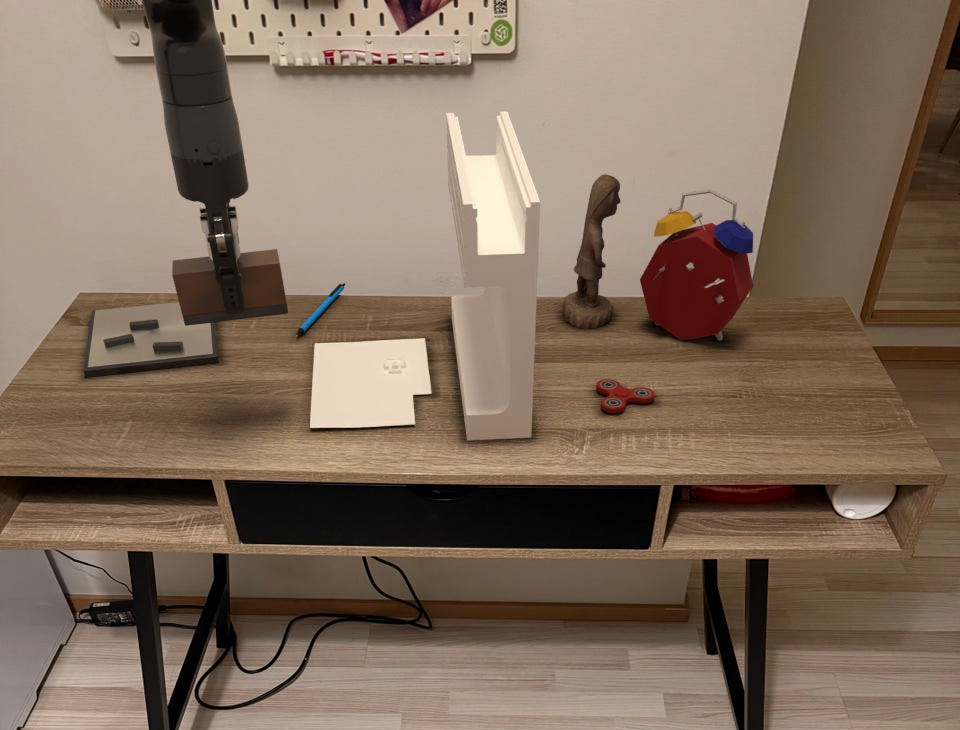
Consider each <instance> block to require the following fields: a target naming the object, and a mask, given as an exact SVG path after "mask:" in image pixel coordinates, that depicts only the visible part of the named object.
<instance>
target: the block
mask: <svg viewBox="0 0 960 730" xmlns="http://www.w3.org/2000/svg"><path fill="white" fill-rule="evenodd" d="M445 115H446V116H445V118H446V144H447V145H446V148H447V153H446V155H447V172H448V174H447V185H448V192H449V199H450V204H451V211H452V216H453V223H454V229H455V236H456V242H457V250H458V255H459V261H460V268H461V274H462V279H463V286H464V289H465V288H484V289H483V291H482V292H480V293H479V294H475V295H452V296H450V302H451V303H450V304H451V305H450V307H451V309H450V310H451V324H452V333H453V340H454V349H455V356H456V364H457V372H458V379H459V381H458V382H459V387H460V395H461V402H462V405H461V406H462V413H463V419H464V427H465V434H466V441H485V440H507V439H508V440H509V439H529V438H532V433H533V431H532V429H533V407H534V405H533V403H534V402H533V401H534V379H535V376H534V375H535V355H536V354H535V353H536V351H535V350H536V329H537V328H536V325H537V324H536V323H537V322H536V321H537V302H538V300H537V299H538V298H537V297H538V276H539V273H538V272H539V271H538V270H539V248H540V247H539V245H540V222H541V221H540V219H541V200H540V198H539V194H538V191H537V188H536V186H535V184H534V181H533V178H532V175H531V172H530V170H529V167H528V164H527V161H526V158H525V156H524V153H523V151H522V147H521V145H520V142H519V139H518V137H517V133H516V131H515V128H514V125H513V122H512V120H511V118H510V114H509V112H508V111H499V115H496V116H495V117H496V118H495V122H496V128H495V154H486V155H482V154H481V155H467V154H466V153H467V152H466V149H465V145H464V139H463V136H462V131H461V126H460V122H459V121H460V120H459V117H458V116H455V113H454V112H446V113H445Z"/></svg>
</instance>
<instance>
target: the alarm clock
mask: <svg viewBox="0 0 960 730" xmlns="http://www.w3.org/2000/svg"><path fill="white" fill-rule="evenodd" d="M705 194H712V195H714V196H716V197H717V198H719V199H720V200H723V201H725V202H727V203H729V204H731V205H732V216H731V219H726V220H724V221H722V222H720V223H718V224H715V223H714V222H710V223H709V222H708V223H705V224H703V223H702V221H701V218H702V217H703V216H704V214H703V213H702V212H699V213H697V214H696V215H694V216H693V215H692V213H690V211H688V210H683V209H684V204H685V199H686V197H689V196H690V197H691V196H697V195H698V196H699V195H705ZM737 205H738V202H736V201H735V200H732V199H730V198H728V197H727V196H725V195H723V194H721V193H719V192H717V191H715V190H713V189H703V190H697V191H696V190H695V191H689V192H682V194H681V199H680V203H679V207H677V208H674V209H673V207H669V208H668V210H669V212H667V215H665V216H663V217H661V218H660V219H658V220H657V222H656V225H655V229H654V233H653V237H654V238H657V237H665V236H668V237H666V238H665V239H664V240H663V241H662V242H660V243H659V244H658V246H657V247H656V249H655V251H654V252H653V255H652V257H651V258H650V260H649V261H648V263H647V265H646V267H645V269H644V271H643V273H642V275H641V276H640V278H639V283H640V286H641V291H642V294H643V298H644V302H645V306H646V310H647V311H646V312H647V314H648V319H650V320H651V321H653V322H654V324H655V326H657V327H659V326H660V327H661V328H663V329H664V330H665V331H667V332H668V333H670V334H672V336H674V337H675V338H676V339H678V340H680V341H686V340H691V339H698V338H704V337H710V336H715V337H716V339H717V340H718V341H722V340H723V332H722V330H723V329H724V328H725V327H726V326H727V325H728V324H729V323H730V322H731V321H732V319H733V318H734V316H735V315H736V313H737V312H738V310H739V309H740V308H741V306H742V305H743V303H744V301H745V300H746V298H747V297H748V295H749V294H750V292H751V291H752V289H753V288H754V284H753V283H754V281H753V277H752V272H751V266H750V261H749V256H748V254H752V253H753V252H754V232H753V231H752V230H751V228H749V227H748V225H746V221H745V220H743V221H742V222H741V221H740V220H738V218H737V217H736V216H737V207H738V206H737ZM681 210H683V211H681ZM697 221H699V223H700V225H696V226H693V225H695V224H697ZM691 226H693V227H691Z"/></svg>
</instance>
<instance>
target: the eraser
mask: <svg viewBox="0 0 960 730" xmlns="http://www.w3.org/2000/svg"><path fill="white" fill-rule="evenodd" d="M240 254H241V255H240V257H239V258H238V259H237V263H238V269H239V273H241V278H240V286H241V291H242V297H243V303H244V312H243V313H237V314H227V313H226V312H225V308H224V303H223V297H222V292H221V287H220V283H219V284H218V282H217V280H216V278H215V275H216V272H215V267H214V263H213V261H212V260H211V259H210V258H209V256H200V257H191V258H183V259H182V258H181V259H173V260H172V267H171V268H172V269H171V276H172V281H173V284H174V288H175V292H176V296H177V300H178V302H179V304H180V308H181V312H182V316H183V320H184V324H185V326H189V325H197V324H206V323H214V322H215V323H222V322H229V321H230V322H231V321H238V320H239V321H240V320H246V319H247V320H248V319H255V318H264V317H270V316H272V317H273V316H281V315H288V314H289V308H288V302H287V297H286V296H287V295H286V291H285V284H284V279H283V273H282V268H281V263H280V256H279V251H278V249H277V248H275V249H265V250H257V251H256V250H255V251H247V252H240ZM220 268H221V271H228V270H233V266H231V265H228V266H220Z"/></svg>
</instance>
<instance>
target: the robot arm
mask: <svg viewBox="0 0 960 730" xmlns="http://www.w3.org/2000/svg"><path fill="white" fill-rule="evenodd" d="M141 2H142V5H143V9H144V12H145V15H146V20H147V24H148V27H149V32H150V36H151V43H152V53H153V61H154V67H155V70H156V77H157V83H158V87H159V92H160V97H161V101H162V108H163V121H164V122H163V123H164V128H165V133H166V139H167V143H168V147H169V153H170V158H171V162H172V168H173V172H174V177H175V182H176V187H177V191H178V193H179V195H180V196H181V197H182V198H183V199H185V200H187V201H189V202H194V203H195V202H200V203H201V204H204V207H203V208H202V207H200V208H199V214H200V216H199V222H200V226H201V231H202V233H203V234H204V235H205V241H206V247H207V252H208V257H209V258H210V259H211V260H212V261H213V263H214V267H215V272H216V275H215V278H216V280H217V282H218V284H219V283H220V287H221V292H222V297H223V303H224V308H225V312H226V313H227V314H237V313H243V312H244V303H243V297H242V291H241V286H240V278H241V273H239V269H238V263H237V259H238V258H239V257H240V255H241V254H240V253H241V248H240V236H239V232H238V230H239V219H238V213H237V207H236V205H230V203H231V200H236V199H238V198H241V197H242V196H244V195H245V194H247V192H248V190H249V185H250V184H249V180H248V173H247V165H246V160H245V154H244V147H243V141H242V135H241V128H240V122H239V118H238V114H237V109H236V106H235V103H234V99H233V95H232V87H231V81H230V75H229V70H228V62H227V57H226V52H225V49H224V45H223V42H222V39H221V37H220V34H219V32H218V29H217V25H216V20H215V19H216V18H215V13H214V6H213V5H214V4H213V0H141ZM228 265H231V266H233V270H228V271H221V268H220V266H228Z"/></svg>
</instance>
